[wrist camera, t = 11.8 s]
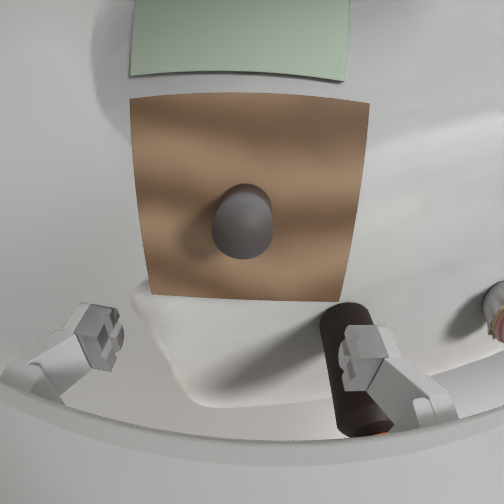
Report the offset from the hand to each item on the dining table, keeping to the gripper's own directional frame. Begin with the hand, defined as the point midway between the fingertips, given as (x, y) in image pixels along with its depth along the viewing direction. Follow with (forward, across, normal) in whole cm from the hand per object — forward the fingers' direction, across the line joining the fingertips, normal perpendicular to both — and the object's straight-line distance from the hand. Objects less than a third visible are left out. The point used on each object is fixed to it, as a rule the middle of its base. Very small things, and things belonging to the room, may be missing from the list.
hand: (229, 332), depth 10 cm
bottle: (+21, -13, +19) cm, 31 cm away
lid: (+14, 0, +1) cm, 14 cm away
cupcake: (+22, -39, +15) cm, 47 cm away
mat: (+22, +2, -19) cm, 29 cm away
